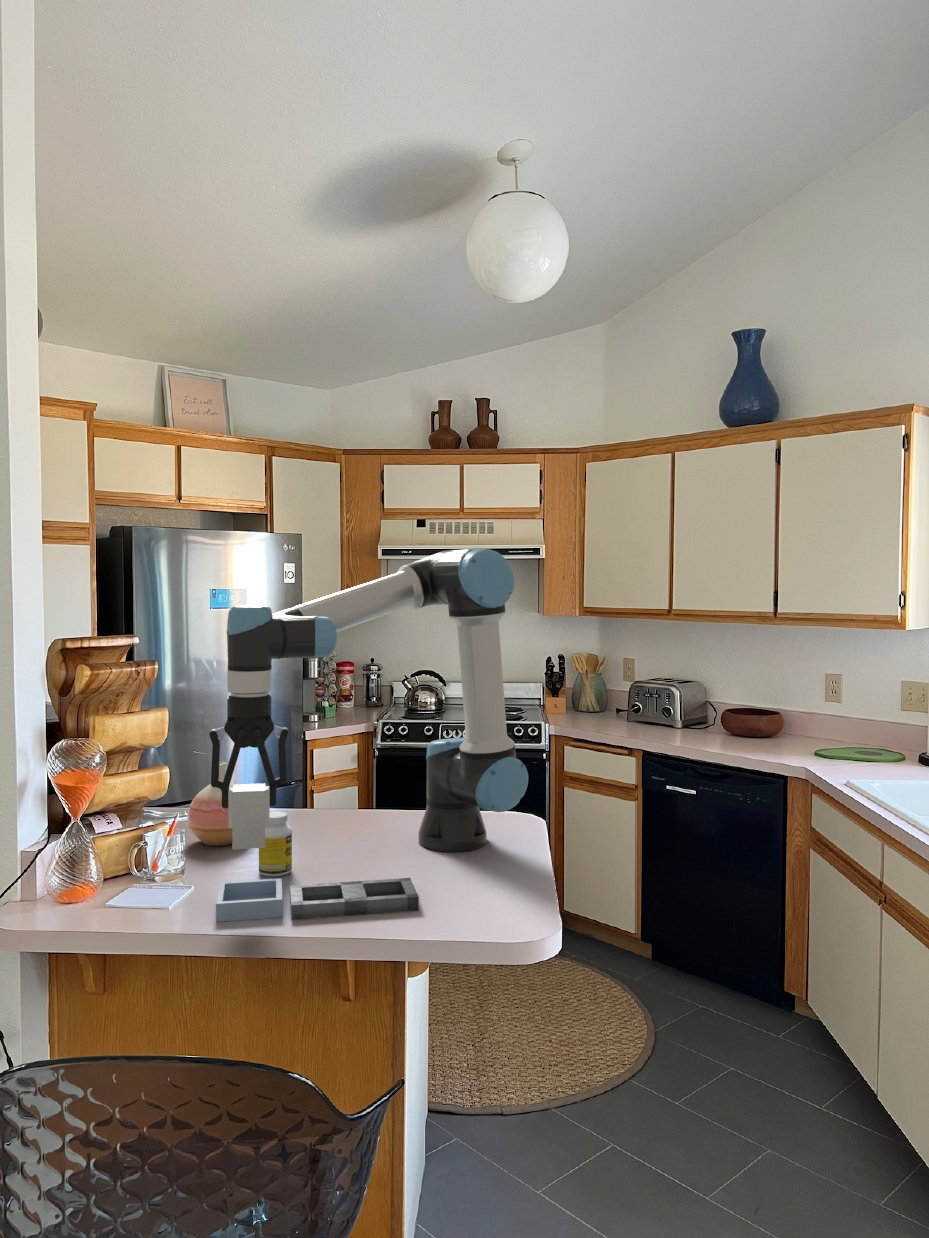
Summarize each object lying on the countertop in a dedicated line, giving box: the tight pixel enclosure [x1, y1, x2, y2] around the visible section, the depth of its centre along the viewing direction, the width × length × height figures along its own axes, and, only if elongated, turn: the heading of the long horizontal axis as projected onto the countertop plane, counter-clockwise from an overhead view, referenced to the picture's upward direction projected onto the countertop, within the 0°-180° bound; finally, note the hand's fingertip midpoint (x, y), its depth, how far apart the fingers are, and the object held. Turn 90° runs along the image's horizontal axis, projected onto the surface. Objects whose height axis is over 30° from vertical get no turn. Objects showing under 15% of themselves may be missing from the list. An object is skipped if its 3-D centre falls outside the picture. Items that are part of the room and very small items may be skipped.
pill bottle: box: [258, 811, 293, 878], centre depth 175 cm, size 6×6×12 cm
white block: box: [231, 783, 266, 850], centre depth 156 cm, size 6×6×10 cm
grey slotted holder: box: [289, 877, 420, 921], centre depth 159 cm, size 22×10×2 cm, turn 102°
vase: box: [187, 761, 234, 847], centre depth 195 cm, size 14×14×18 cm
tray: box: [215, 878, 283, 923], centre depth 157 cm, size 11×11×3 cm
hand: (249, 824), depth 156 cm, fingers closed on white block, 5 cm apart
